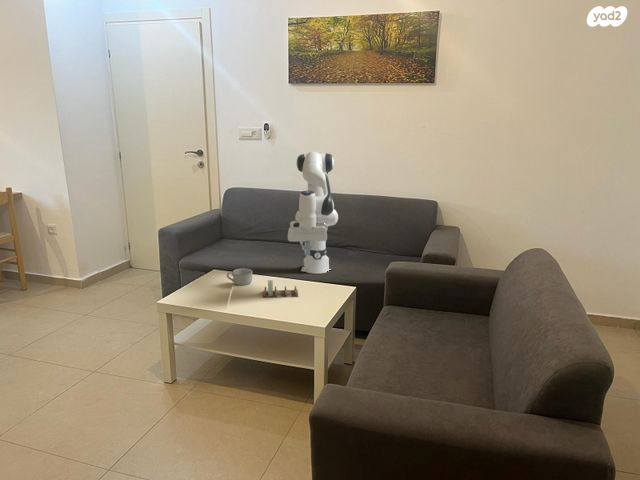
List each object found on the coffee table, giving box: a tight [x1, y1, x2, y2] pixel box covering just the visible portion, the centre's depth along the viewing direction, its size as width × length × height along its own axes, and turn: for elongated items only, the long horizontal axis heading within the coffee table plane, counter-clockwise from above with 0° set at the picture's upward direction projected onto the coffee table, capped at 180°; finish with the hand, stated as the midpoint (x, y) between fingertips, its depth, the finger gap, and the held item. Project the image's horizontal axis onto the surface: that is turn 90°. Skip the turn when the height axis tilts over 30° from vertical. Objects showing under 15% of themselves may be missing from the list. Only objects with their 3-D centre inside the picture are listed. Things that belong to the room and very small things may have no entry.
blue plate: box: [304, 241, 310, 256], centre depth 240 cm, size 6×2×6 cm, turn 7°
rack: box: [262, 285, 300, 299], centre depth 241 cm, size 12×18×4 cm, turn 96°
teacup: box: [226, 268, 253, 286], centre depth 259 cm, size 14×11×8 cm
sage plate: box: [267, 280, 274, 296], centre depth 240 cm, size 6×2×6 cm, turn 6°
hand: (307, 249), depth 240 cm, fingers closed on blue plate, 2 cm apart
